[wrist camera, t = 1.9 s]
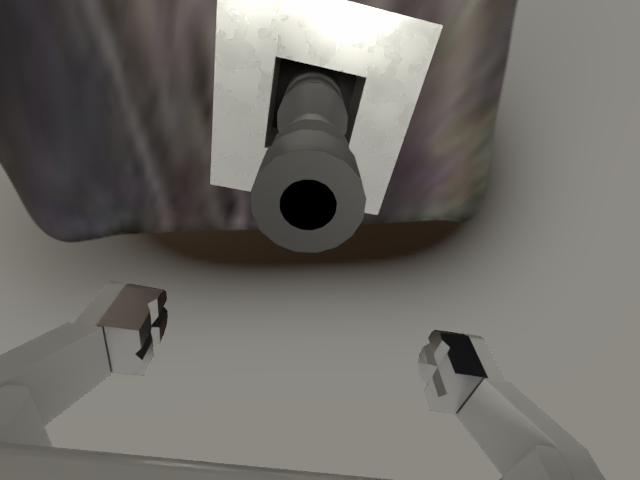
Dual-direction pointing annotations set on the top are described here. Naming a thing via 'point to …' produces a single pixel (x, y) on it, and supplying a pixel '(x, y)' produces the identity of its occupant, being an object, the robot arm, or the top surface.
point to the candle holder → (309, 170)
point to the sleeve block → (324, 51)
